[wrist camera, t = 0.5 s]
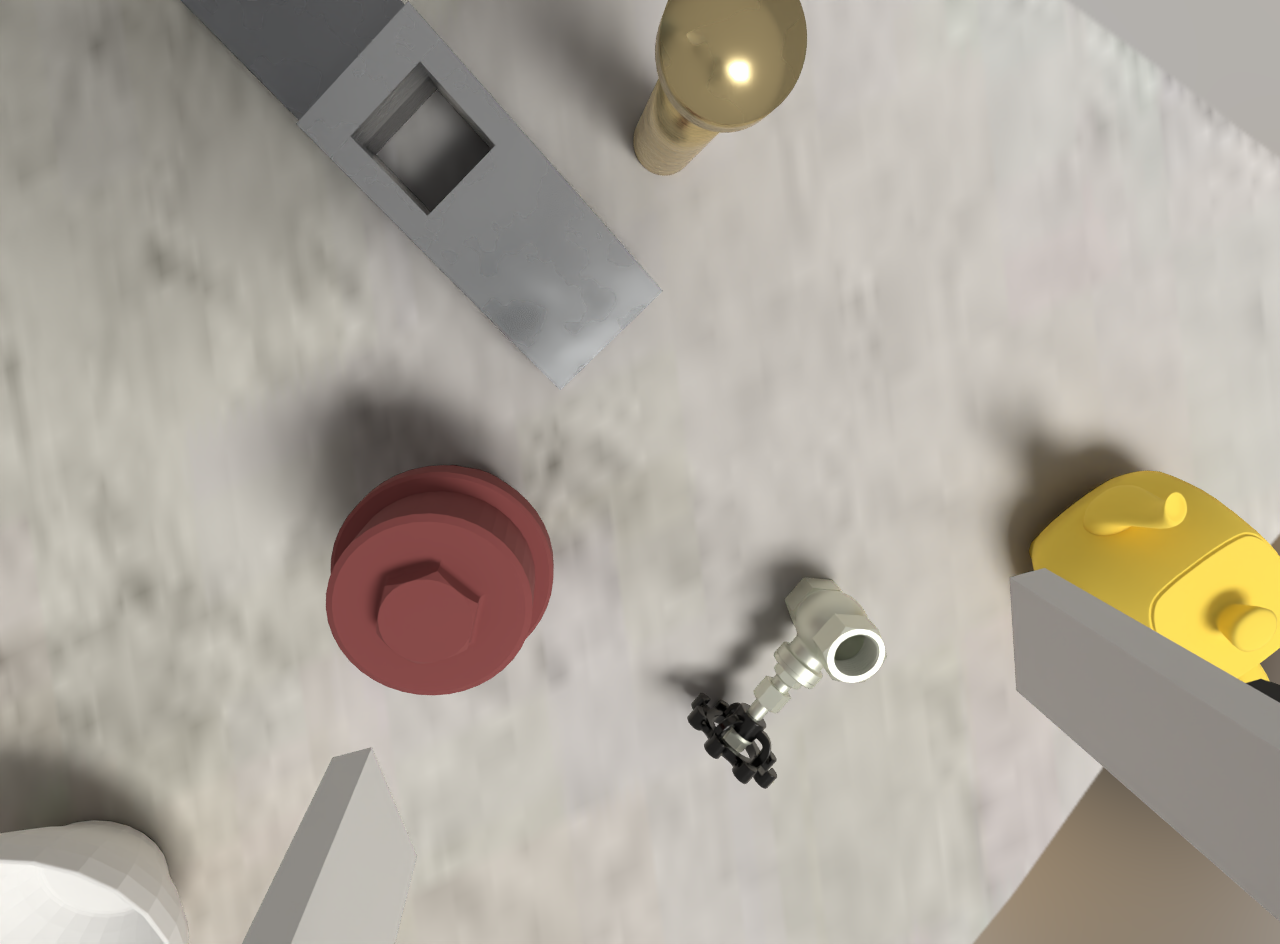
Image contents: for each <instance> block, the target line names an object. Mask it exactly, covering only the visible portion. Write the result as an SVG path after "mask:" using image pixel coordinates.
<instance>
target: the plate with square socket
mask: <svg viewBox="0 0 1280 944" xmlns="http://www.w3.org/2000/svg"><path fill="white" fill-rule="evenodd" d="M181 1H182V2H183V3H184V4H185V5H186V6H187V7H188V8H189V9H190V10H191V11H192V12H193V13H194V14H195V15H196V16H197V17H198V18H199V19H200V20H201V21H202V23H203V24H204V25H205V26H206V27H207V28H208V29H209V30H210V31H211V32H212V33H213V34H214V35H215V36H216V37H217V38H218V39H219V40H220V41H221V42H222V43H223V44H224V45H225V46H226V47H227V48H228V49H229V50H230V51H231V52H232V53H233V54H234V55H235V56H236V57H237V58H238V59H239V60H240V61H241V62H242V63H243V64H244V65H245V66H246V67H247V68H248V69H249V70H250V71H251V72H252V73H253V74H254V75H255V76H256V77H257V78H258V79H259V80H260V81H261V82H262V83H263V84H264V85H265V86H266V87H267V88H268V89H269V90H270V91H271V92H272V93H273V94H274V95H275V96H276V97H277V98H278V99H279V100H280V101H281V102H282V103H283V105H284V106H285V107H286V108H287V109H288V110H289V111H290V112H291V113H292V114H293V115H294V116H295V117H296V118H297V119H298V120H299V121H298V122H297V123H296V124H297V125H298V126H299V127H300V128H301V129H302V130H303V131H304V132H305V133H306V134H307V135H308V136H309V137H310V138H311V139H312V140H313V141H314V142H315V143H316V144H317V145H318V146H319V147H320V148H321V149H322V150H323V151H324V152H325V153H326V154H327V155H328V156H329V157H330V158H331V159H332V160H333V162H334V163H335V164H336V165H337V166H338V167H339V168H340V169H341V170H342V171H343V172H344V173H345V174H346V175H347V176H348V177H349V178H350V179H351V180H352V181H353V182H354V183H355V184H356V185H357V186H358V187H359V188H360V189H361V190H362V191H363V192H364V193H365V194H366V195H367V196H368V197H369V198H370V199H371V200H372V201H373V202H374V203H375V204H376V205H377V206H378V207H379V208H380V209H381V210H382V211H383V212H384V213H385V214H386V215H387V216H388V217H389V218H390V219H391V220H392V221H393V222H394V223H395V224H396V225H397V226H398V227H399V228H400V229H401V230H402V231H403V232H404V233H405V234H406V235H407V236H408V237H409V238H410V239H411V240H412V241H413V242H414V243H415V244H416V245H417V246H418V247H419V248H420V249H421V250H422V251H423V252H424V253H425V254H426V255H427V256H428V257H429V258H430V259H431V260H432V261H433V262H434V263H435V264H436V265H437V266H438V267H439V268H440V269H441V270H442V271H443V272H444V273H445V275H446V276H447V277H448V278H449V279H450V280H451V281H452V282H453V283H454V284H455V285H456V286H457V287H458V288H459V289H460V290H461V291H462V292H463V293H464V294H465V295H466V296H467V297H468V298H469V299H470V300H471V301H472V302H473V303H474V304H475V305H476V306H477V307H478V308H479V309H480V310H481V311H482V312H483V313H484V314H485V315H486V316H487V317H488V318H489V319H490V320H491V321H492V322H493V323H494V324H495V325H496V326H497V327H498V328H499V329H500V330H501V331H502V332H503V333H504V334H505V335H506V336H507V337H508V338H509V339H510V340H511V341H512V342H513V343H514V344H515V345H516V346H517V347H518V348H519V349H520V350H521V351H522V352H523V353H524V354H525V355H526V356H527V357H528V358H529V359H530V360H531V361H532V362H533V363H534V364H535V365H536V366H537V367H538V368H539V369H540V370H541V371H542V372H543V373H544V374H545V375H546V376H547V377H548V378H549V379H550V380H551V381H552V382H553V383H554V384H555V385H556V387H557V388H558V389H559V390H561V389H562V388H563V387H564V386H565V385H566V384H567V383H568V382H569V381H570V380H571V379H572V378H573V377H574V376H575V375H576V374H578V373H579V372H580V371H581V370H582V369H583V368H584V367H585V366H586V365H587V364H588V363H589V362H590V361H591V360H592V359H593V358H594V357H595V356H596V355H597V354H598V353H599V352H600V351H601V350H602V349H603V348H604V347H605V346H606V345H607V344H608V343H609V342H611V341H612V340H613V339H614V338H615V337H616V336H617V335H618V334H619V333H620V332H621V331H622V330H623V329H624V328H625V327H626V326H627V325H628V324H629V323H630V322H631V321H632V320H633V319H634V318H635V317H636V316H637V315H638V314H639V313H640V312H641V311H642V310H644V309H645V308H646V307H647V306H648V305H649V304H650V303H651V302H652V301H653V300H654V299H655V298H656V297H657V296H658V295H659V294H660V293H661V292H662V289H661V288H660V287H659V286H658V285H657V284H656V283H655V281H654V280H653V279H652V278H651V277H650V276H649V275H648V273H647V272H646V271H645V270H644V269H643V268H642V267H641V265H640V264H639V263H638V262H637V261H636V260H635V259H634V258H633V256H632V255H631V254H630V253H629V252H628V251H627V250H626V248H625V247H624V246H623V245H622V244H621V243H620V242H619V240H618V239H617V238H616V237H615V236H614V235H613V234H612V233H611V231H610V230H609V229H608V228H607V227H606V226H605V225H604V223H603V222H602V221H601V220H600V219H599V218H598V217H597V215H596V214H595V213H594V212H593V211H592V210H591V209H590V207H589V206H588V205H587V204H586V203H585V202H584V201H583V200H582V198H581V197H580V196H579V195H578V194H577V193H576V192H575V190H574V189H573V188H572V187H571V186H570V185H569V184H568V182H567V181H566V180H565V179H564V178H563V177H562V176H561V174H560V173H559V172H558V171H557V170H556V169H555V168H554V167H553V165H552V164H551V163H550V162H549V161H548V160H547V159H546V157H545V156H544V155H543V154H542V153H541V152H540V151H539V149H538V148H537V147H536V146H535V145H534V144H533V143H532V141H531V140H530V139H529V138H528V137H527V136H526V135H525V134H524V132H523V131H522V130H521V129H520V128H519V127H518V126H517V124H516V123H515V122H514V121H513V120H512V119H511V118H510V116H509V115H508V114H507V113H506V112H505V111H504V110H503V108H502V107H501V106H500V105H499V104H498V103H497V102H496V101H495V99H494V98H493V97H492V96H491V95H490V94H489V93H488V91H487V90H486V89H485V88H484V87H483V86H482V85H481V83H480V82H479V81H478V80H477V79H476V78H475V77H474V75H473V74H472V73H471V72H470V71H469V70H468V69H467V68H466V66H465V65H464V64H463V63H462V62H461V61H460V60H459V58H458V57H457V56H456V55H455V54H454V53H453V52H452V50H451V49H450V48H449V47H448V46H447V45H446V44H445V42H444V41H443V40H442V39H441V38H440V37H439V36H438V35H437V33H436V32H435V31H434V30H433V29H432V28H431V27H430V25H429V24H428V23H427V22H426V21H425V20H424V19H423V17H422V16H421V15H420V14H419V13H418V12H417V11H416V10H415V8H414V7H413V6H412V5H411V4H410V3H409V2H407V3H406V4H405V5H404V4H403V2H402V1H401V0H181ZM436 89H438V91H439V92H440V93H441V94H442V95H443V96H444V97H445V98H446V99H447V101H448V102H449V103H450V104H451V105H452V106H453V107H454V108H455V109H456V110H457V112H458V113H459V114H460V115H461V116H462V117H463V118H464V119H465V120H466V122H467V123H468V124H469V125H470V126H471V127H472V128H473V129H474V130H475V132H476V133H477V134H478V135H479V136H480V137H481V138H482V139H483V140H484V141H485V143H486V144H487V145H488V146H489V147H490V148H491V150H490V151H489V153H488V154H487V155H486V156H485V157H484V158H483V159H482V160H481V161H480V162H479V163H478V164H477V165H476V166H475V167H474V168H473V169H472V170H471V171H470V172H469V173H468V174H467V175H466V176H465V177H464V178H463V180H462V181H461V182H460V183H459V184H458V185H457V186H456V187H455V188H454V189H453V190H452V191H451V192H450V193H449V194H448V195H447V196H446V197H445V198H444V199H443V200H442V201H441V202H440V203H439V204H438V206H437V207H436V208H435V209H434V210H433V211H432V212H430V211H429V210H428V209H427V208H426V207H425V206H424V205H423V203H422V202H421V201H420V200H419V199H418V198H417V197H416V196H415V195H414V194H413V193H412V192H411V191H410V190H409V189H408V188H407V187H406V186H405V185H404V184H403V183H402V182H401V181H400V180H399V179H398V178H397V177H396V176H395V174H394V173H393V172H392V171H391V170H390V169H389V168H388V167H387V166H386V165H385V164H384V163H383V162H382V161H381V160H380V159H379V158H378V157H377V156H376V155H375V154H376V153H377V152H378V151H379V150H380V149H381V148H382V147H383V146H384V145H385V143H386V142H387V141H388V140H389V139H390V138H391V137H392V136H393V135H394V134H395V133H396V132H397V131H398V130H399V129H400V127H401V126H402V125H403V124H404V123H405V122H406V121H407V120H408V119H409V118H410V117H411V116H412V115H413V114H414V113H415V112H416V110H417V109H418V108H419V107H420V106H421V105H422V104H423V103H424V102H425V101H426V100H427V99H428V98H429V97H430V96H431V94H432V93H433V92H434V91H435V90H436Z"/></svg>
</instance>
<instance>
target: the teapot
mask: <svg viewBox="0 0 1280 944" xmlns="http://www.w3.org/2000/svg"><path fill="white" fill-rule="evenodd" d="M1029 554H1030V557H1031V559H1032V563H1033V568H1034V571H1035V570H1039V569H1043V568H1046V569H1047V570H1049V571H1051V572H1053V573H1054V574H1056V575H1058V576H1060V577H1061V578H1063V579H1065V580H1067V581H1068V582H1070V583H1072V584H1074V585H1075V586H1077V587H1079V588H1081V589H1082V590H1084V591H1086V592H1088V593H1089V594H1091V595H1093V596H1094V597H1096V598H1098V599H1100V600H1101V601H1103V602H1105V603H1107V604H1108V605H1110V606H1112V607H1114V608H1115V609H1117V610H1119V611H1121V612H1122V613H1124V614H1126V615H1128V616H1129V617H1131V618H1133V619H1135V620H1136V621H1138V622H1140V623H1142V624H1143V625H1145V626H1147V627H1149V628H1150V629H1152V630H1154V631H1155V632H1157V633H1159V634H1161V635H1162V636H1164V637H1166V638H1168V639H1169V640H1171V641H1173V642H1175V643H1176V644H1178V645H1180V646H1182V647H1183V648H1185V649H1187V650H1189V651H1190V652H1192V653H1194V654H1196V655H1197V656H1199V657H1201V658H1203V659H1204V660H1206V661H1208V662H1209V663H1211V664H1213V665H1215V666H1216V667H1218V668H1220V669H1222V670H1223V671H1225V672H1227V673H1229V674H1230V675H1232V676H1234V677H1236V678H1237V679H1239V680H1241V681H1243V682H1244V683H1247V682H1251V681H1255V680H1258V679H1264V680H1267V681H1269V679H1268V677H1267V675H1266V673H1265V672H1264V670H1263V668H1262V667H1261V665H1260V663H1261V662H1262V661H1263V660H1264V659H1266V658H1267V657H1268V656H1270V655H1271V654H1272V653H1274V652H1275V651H1276V650H1277V649H1279V648H1280V556H1279V555H1278V554H1277V552H1276V551H1275V550H1274V549H1273V547H1272V546H1271V545H1270V544H1269V543H1268V542H1267V541H1266V540H1265V539H1264V538H1263V537H1262V536H1261V535H1260V534H1259V533H1258V532H1257V531H1256V530H1255V529H1253V528H1252V527H1251V526H1250V525H1249V524H1247V523H1246V522H1245V521H1244V520H1243V519H1241V518H1240V517H1239V516H1238V515H1237V514H1235V513H1234V512H1233V511H1232V510H1230V509H1229V508H1228V507H1226V506H1225V505H1224V504H1222V503H1221V502H1220V501H1218V500H1217V499H1216V498H1214V497H1212V496H1211V495H1209V494H1208V493H1206V492H1204V491H1203V490H1201V489H1199V488H1197V487H1195V486H1193V485H1191V484H1189V483H1187V482H1185V481H1183V480H1180V479H1178V478H1176V477H1173V476H1171V475H1168V474H1165V473H1162V472H1158V471H1138V472H1132V473H1128V474H1124V475H1121V476H1118V477H1115V478H1112V479H1111V480H1109V481H1107V482H1105V483H1103V484H1102V485H1100V486H1098V487H1097V488H1095V489H1094V490H1092V491H1091V492H1089V493H1088V494H1086V495H1085V496H1084V497H1082V498H1081V499H1079V500H1078V501H1077V502H1075V503H1074V504H1073V505H1071V506H1070V507H1069V508H1068V509H1066V510H1065V511H1064V512H1063V513H1061V514H1060V515H1059V516H1058V517H1057V518H1056V519H1055V520H1053V521H1052V522H1051V523H1050V524H1049V525H1048V526H1047V527H1046V528H1045V529H1044V530H1043V531H1042V532H1041V533H1040V534H1039V536H1037V537H1036V538H1035V539H1034V540H1033V541H1032V543H1031V545H1030V548H1029ZM1269 682H1270V681H1269Z"/></svg>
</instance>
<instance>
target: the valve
mask: <svg viewBox="0 0 1280 944" xmlns="http://www.w3.org/2000/svg"><path fill="white" fill-rule="evenodd" d="M785 603H786V605H787V608H788V611H789V614H790V616H791V619H792V622H793V624H794V626H795V627H796V631H797V636H796V637H795V638H794V640H793V641H792V642H791V643H789V642H783V643H782V645H781V646H780V647H779V648H778V649H777V650H776V651H775V653H774V657H775V659H776V661H777V662H778V663H777V664H776V665H775V667H774V669H775V671H776V673H777V674H776V675H775V676H774V677H769V676H766V677H765V678H764V679H763V680H762V681H761V682H760V684H759V685H758V686H757V687H756V688H755V689H754V690H753V691H754V695H755V697H756V700H755V701H754V702H753V703H752V705H751V706H750V705H748V704H746V703H741V704H740V703H733V704H731V705H729V704H728V703H726V702H724V701H723V700H720V701H719V702H718V703H717V704H716V705H715V706H714V708H711V709H710V708H709V707H708V706H707V703H708V702H709V701H710V698H709V697H708V696H707V695H705V694H704V693H700V694H699V695H698V697H697V698H696V699H695V700H694V701H693V702H692V704H691V706H692V708H693V711H692V712H691V713H690V714H689V716H688V717H687V719H688V722H689V723H690V725H691V726H692V727H693V728H695V729H696V730H699V731H700V730H702V731H703V732H704V733H705V735H706V736H707V738H708V740H707V741H706V742H705V744H704V748H705V750H706V751H707V753H708V754H709V755H710V756H712V757H713V758H715V759H718V758H719V757H720V756H723V757H724V758H725V759H726V760H727V761H729V762H730V763H731V765H732V766H733V768H732V772H733V774H734V776H735V777H736V778H737V779H738V780H739V781H740V782H741V783H743V784H747V783H748V782H749V781H750V779H751V778H752V777H753V778H754V780H755V781H756V782H757V783H758V784H759V785H760V786H761V787H762V788H765V789H766V788H768V787H769V786H770V785H771V783H772V782H773V781H774V780H775V779H776V778H777V774H776V772H775V770H774V769H773V768H771V769H770V767H771V766H772V765H773V764H774V763H775V762H776V757H775V755H774V754H773V753H772V752H771V741H770V739H769V737H768V735H767V734H766V733H765V732H764V731H763V730H764V729H765V728H766V723H765V721H764V719H763V717H764V716H765V715H766V714H767V713H768V711H770V712H772V713H778V712H779V711H780V710H781V709H782V708H783V707H784V705H785V704H786V703H787V702H788V701H789V700H790V699H791V697H790V695H789V693H788V691H789V690H790V689H791V688H793V689H800V687H801V686H804V687H806V688H808V689H813V687H814V686H815V685H816V684H817V683H818V682H819V681H820V680H821V678H822V677H823V675H822V673H821V670H822V668H823V667H824V669H825V670H826V671H827V673H828V674H829V676H830V677H831V679H832V680H835V681H841V682H856V683H857V682H865V681H866V680H867V679H869V678H870V677H871V676H872V675H873V674H874V673H875V672H876V671H877V670H878V669H879V668H880V666H881V665H882V664H883V662H884V661H885V659H886V658H887V655H886V650H885V647H884V644H883V641H882V638H881V635H880V633H879V630H878V629H877V628H876V626H875V625H874V624H873V623H872V622H871V621H870V620H869V619H868V617H867V615H866V613H865V611H864V609H863V608H862V607H861V605H860V604H859V603H858V602H857V601H856V600H855V599H853V598H852V597H850V596H849V595H847V594H845V593H842V590H841V589H840V588H839V587H838V586H837V585H836V584H835V583H834V582H833V580H830V579H819V578H807V577H804V578H803V579H802V580H801V581H800V582H799V583H798V584H797V585H796V587H795V588H794V589H793V590H792V591H791V592H790V594H789V595H788V596H787V597H786V598H785ZM714 722H716V723H718V724H719V725H718V726H717V727H716V726H715V724H714ZM756 738H757V739H758V740H759V741H760V742H761V744H762V747H763V748H762V750H761V751H760V750H759V748H758V746H757V744H756V743H755V741H754V740H755V739H756ZM744 749H746V751H747V753H748V755H749V757H750V758H747V757H745V756H743V755H741V754H740V753H739V752H742V751H743V750H744ZM769 769H770V770H769ZM768 770H769V771H768Z"/></svg>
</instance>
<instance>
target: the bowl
mask: <svg viewBox="0 0 1280 944" xmlns="http://www.w3.org/2000/svg"><path fill="white" fill-rule="evenodd" d="M0 944H189V930H188V921H187V918H186V915H185V912H184V909H183V906H182V904H181V901H180V898H179V895H178V892H177V889H176V887H175V885H174V883H173V882H172V880H171V878H170V876H169V870H168V865H167V863H166V860H165V857H164V854H163V853H162V852H161V850H160V849H159V848H158V846H157V845H156V843H155V842H153V841H152V840H151V839H150V838H148V837H147V836H146V835H145V834H144V833H142V832H140V831H138V830H136V829H134V828H132V827H130V826H127V825H123V824H119V823H115V822H112V821H98V820H90V821H83V822H75V823H72V824H69V825H65V826H55V827H42V828H34V829H27V830H20V831H13V832H6V833H0Z"/></svg>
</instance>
